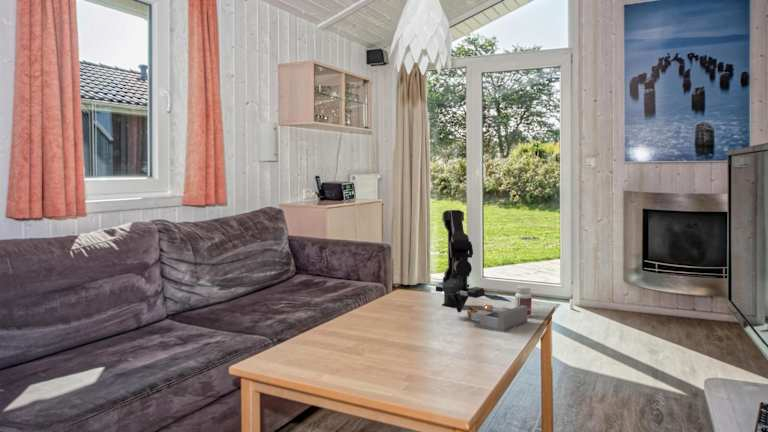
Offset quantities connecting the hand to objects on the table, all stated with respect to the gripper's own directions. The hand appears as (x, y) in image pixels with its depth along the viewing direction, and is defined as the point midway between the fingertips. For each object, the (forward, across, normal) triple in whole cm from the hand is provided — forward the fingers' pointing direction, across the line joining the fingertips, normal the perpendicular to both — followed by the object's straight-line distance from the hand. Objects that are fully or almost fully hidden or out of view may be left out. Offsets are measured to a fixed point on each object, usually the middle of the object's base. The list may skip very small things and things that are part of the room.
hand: (459, 312), depth 212 cm
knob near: (+1, +9, 0) cm, 9 cm away
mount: (+3, +15, +4) cm, 16 cm away
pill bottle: (+3, +16, +20) cm, 26 cm away
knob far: (+1, +11, +8) cm, 14 cm away
